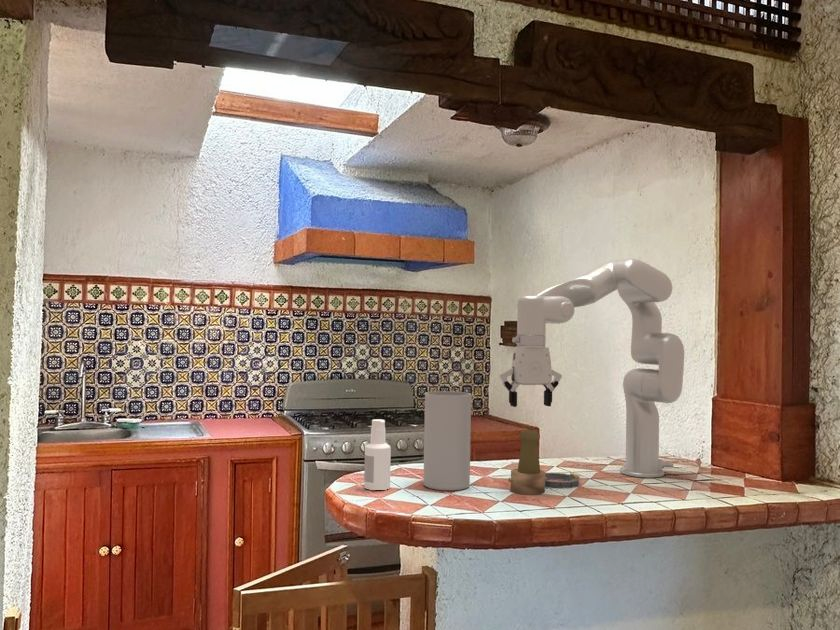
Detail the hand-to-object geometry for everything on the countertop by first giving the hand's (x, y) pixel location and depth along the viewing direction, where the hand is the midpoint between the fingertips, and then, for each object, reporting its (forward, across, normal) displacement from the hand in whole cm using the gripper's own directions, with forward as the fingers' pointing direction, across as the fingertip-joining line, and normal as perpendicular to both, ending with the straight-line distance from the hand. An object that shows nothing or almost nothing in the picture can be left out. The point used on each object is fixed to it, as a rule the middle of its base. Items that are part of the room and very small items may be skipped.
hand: (530, 406), depth 184 cm
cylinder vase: (+22, -21, +8) cm, 32 cm away
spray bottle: (+22, -40, +8) cm, 46 cm away
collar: (+22, +11, +7) cm, 26 cm away
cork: (+18, 0, -1) cm, 18 cm away
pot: (+22, -1, -1) cm, 22 cm away
